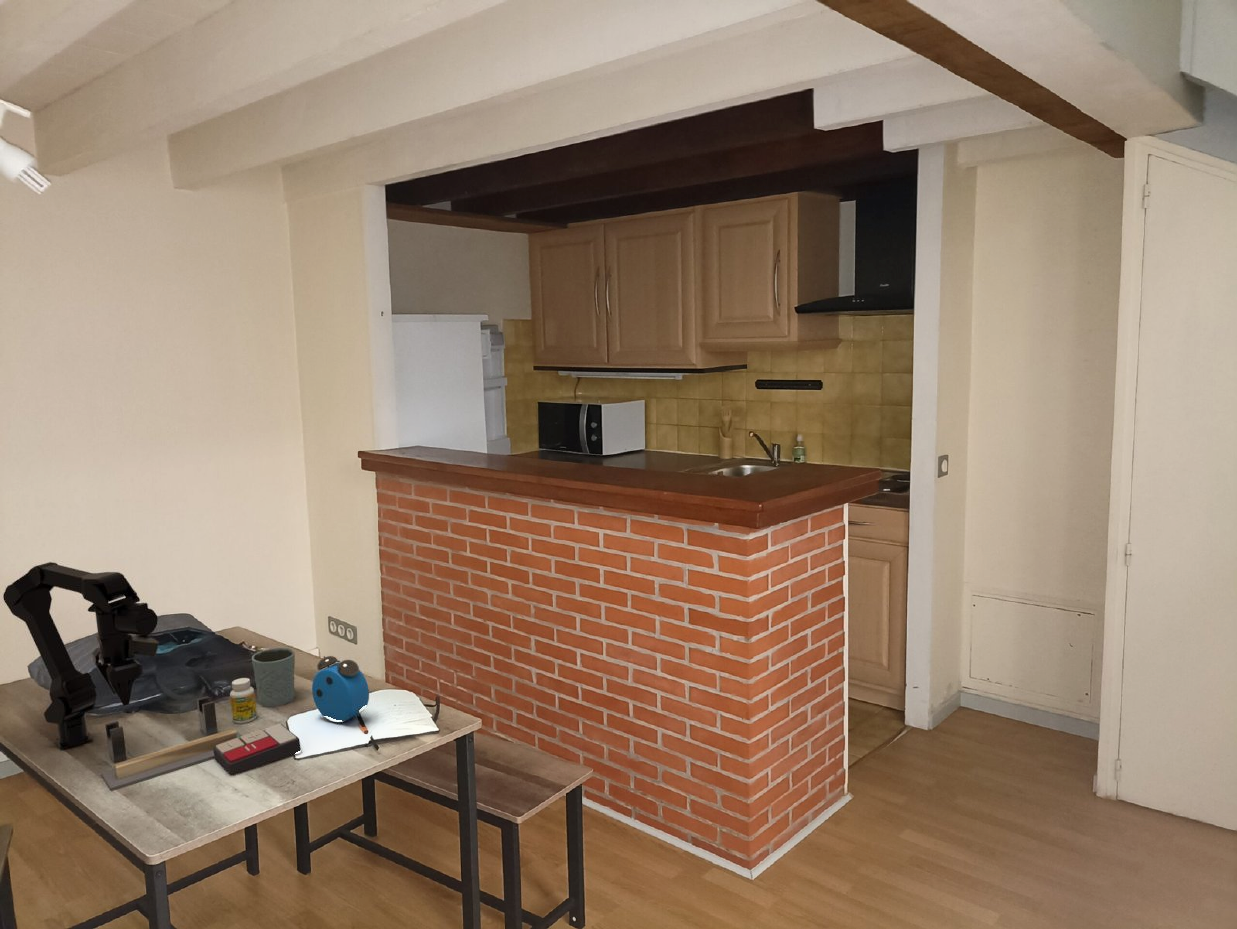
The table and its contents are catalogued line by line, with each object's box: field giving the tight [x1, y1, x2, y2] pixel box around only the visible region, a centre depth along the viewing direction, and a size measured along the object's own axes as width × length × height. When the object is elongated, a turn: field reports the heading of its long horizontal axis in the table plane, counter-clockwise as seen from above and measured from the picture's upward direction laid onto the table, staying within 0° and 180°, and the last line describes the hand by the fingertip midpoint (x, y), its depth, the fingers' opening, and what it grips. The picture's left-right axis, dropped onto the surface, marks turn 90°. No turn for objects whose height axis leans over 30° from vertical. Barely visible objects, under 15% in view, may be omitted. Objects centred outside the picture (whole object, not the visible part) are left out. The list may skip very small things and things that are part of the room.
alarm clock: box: [311, 655, 370, 722], centre depth 214 cm, size 13×6×15 cm, turn 60°
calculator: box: [213, 723, 302, 777], centre depth 197 cm, size 11×4×15 cm
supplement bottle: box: [229, 677, 258, 724], centre depth 217 cm, size 5×5×10 cm
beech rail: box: [113, 728, 237, 779], centre depth 197 cm, size 2×24×2 cm, turn 130°
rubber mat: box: [100, 731, 243, 791], centre depth 197 cm, size 9×28×1 cm, turn 130°
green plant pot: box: [251, 647, 296, 708], centre depth 227 cm, size 10×10×12 cm
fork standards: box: [104, 696, 219, 765], centre depth 205 cm, size 5×21×8 cm, turn 130°
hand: (121, 699), depth 201 cm, fingers open, 9 cm apart
